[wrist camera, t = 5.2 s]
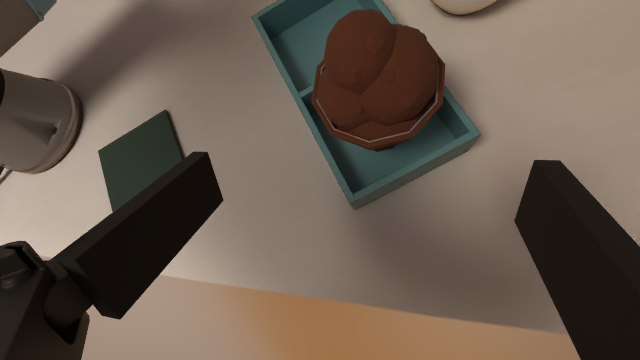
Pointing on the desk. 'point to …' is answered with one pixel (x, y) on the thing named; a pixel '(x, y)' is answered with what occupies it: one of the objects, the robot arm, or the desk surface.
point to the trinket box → (462, 5)
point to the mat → (139, 158)
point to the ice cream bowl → (377, 81)
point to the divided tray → (343, 157)
